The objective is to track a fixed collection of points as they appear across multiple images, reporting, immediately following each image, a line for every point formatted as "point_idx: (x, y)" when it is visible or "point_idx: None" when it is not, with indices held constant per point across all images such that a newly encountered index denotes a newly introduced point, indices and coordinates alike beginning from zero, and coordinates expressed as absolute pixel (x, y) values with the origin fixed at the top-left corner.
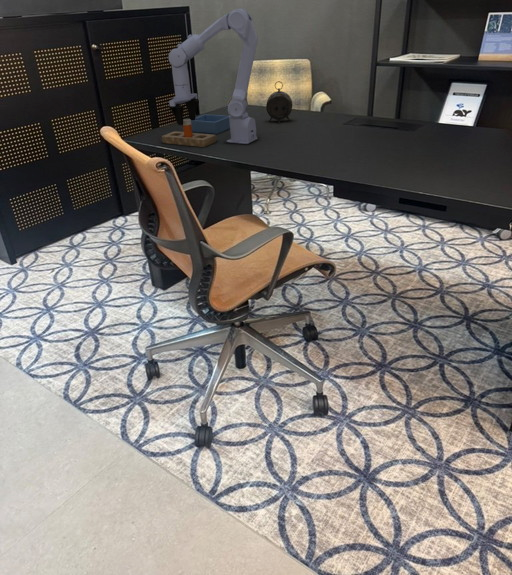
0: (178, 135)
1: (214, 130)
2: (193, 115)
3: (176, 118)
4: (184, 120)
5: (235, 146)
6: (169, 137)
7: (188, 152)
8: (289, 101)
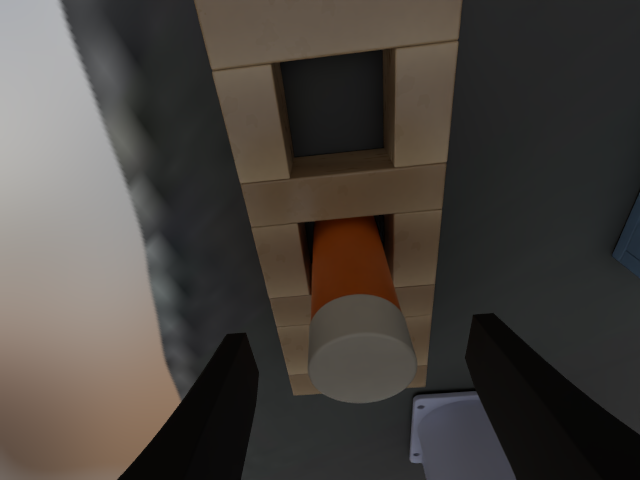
0: (389, 93)
1: (637, 255)
2: (491, 409)
3: (195, 404)
4: (323, 375)
5: (369, 439)
6: (226, 128)
7: (179, 352)
8: None
